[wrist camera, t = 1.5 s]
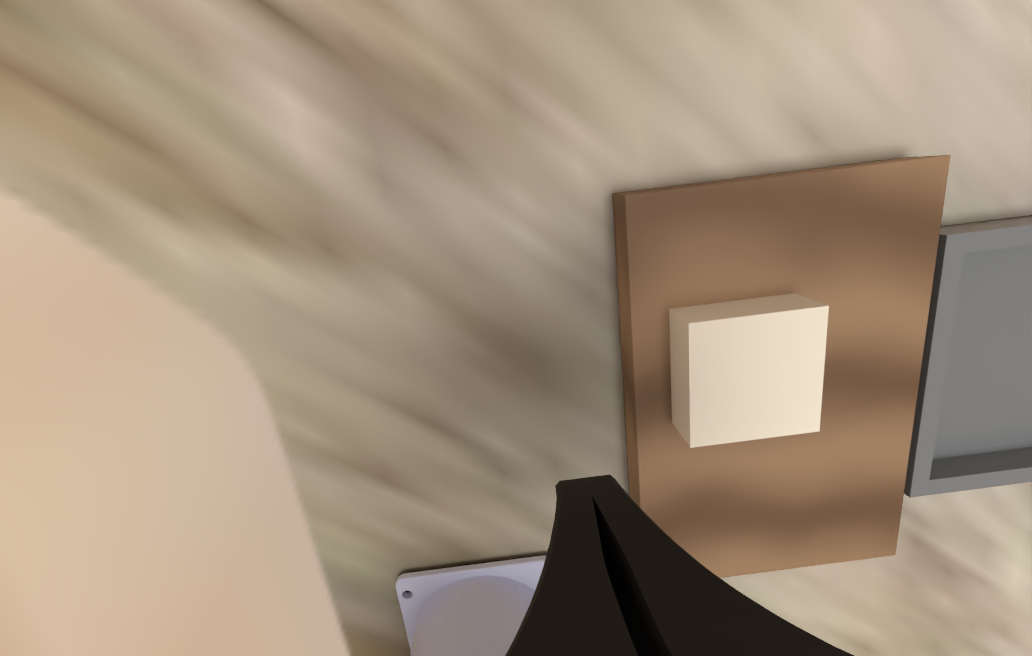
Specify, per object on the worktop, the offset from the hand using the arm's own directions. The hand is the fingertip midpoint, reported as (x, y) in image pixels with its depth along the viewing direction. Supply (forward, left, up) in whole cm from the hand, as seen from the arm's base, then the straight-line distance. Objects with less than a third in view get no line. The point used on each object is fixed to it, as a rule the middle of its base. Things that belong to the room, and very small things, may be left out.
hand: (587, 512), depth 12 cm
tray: (-2, -21, -10) cm, 24 cm away
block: (0, -7, -8) cm, 11 cm away
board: (-2, -9, -10) cm, 14 cm away
